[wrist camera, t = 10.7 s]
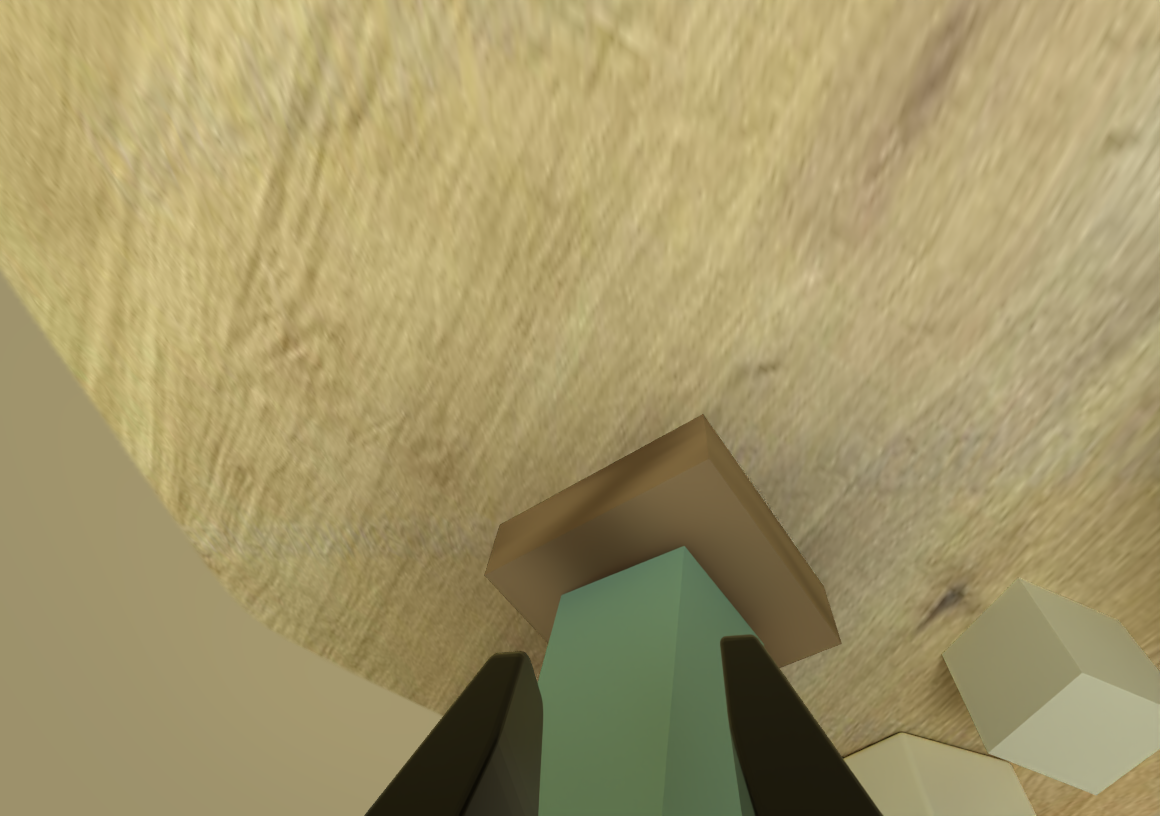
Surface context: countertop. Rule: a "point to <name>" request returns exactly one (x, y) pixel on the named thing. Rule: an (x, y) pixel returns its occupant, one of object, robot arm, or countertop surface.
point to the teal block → (639, 696)
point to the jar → (937, 780)
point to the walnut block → (667, 541)
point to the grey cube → (1057, 687)
